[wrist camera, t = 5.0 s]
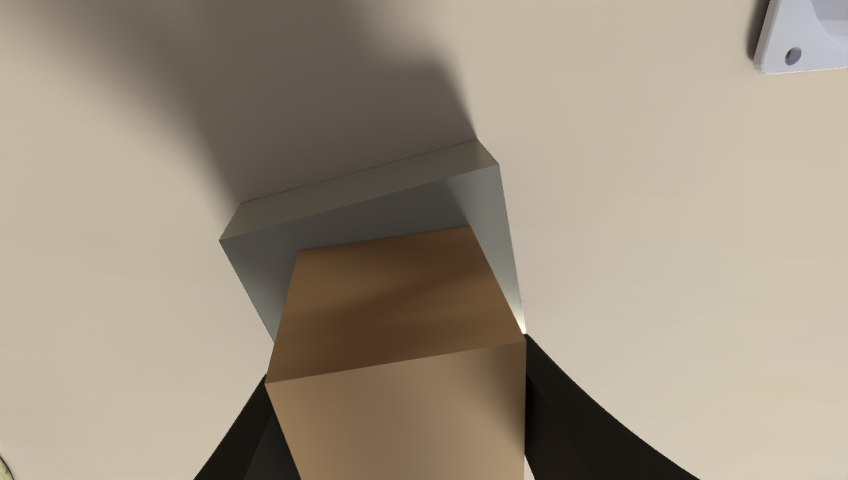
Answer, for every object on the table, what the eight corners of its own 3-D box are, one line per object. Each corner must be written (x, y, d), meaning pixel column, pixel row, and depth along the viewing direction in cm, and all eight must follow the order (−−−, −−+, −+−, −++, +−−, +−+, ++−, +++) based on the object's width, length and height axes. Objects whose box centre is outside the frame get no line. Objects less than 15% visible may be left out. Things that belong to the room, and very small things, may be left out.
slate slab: (474, 135, 15) (498, 163, 12) (507, 316, 19) (531, 368, 16) (244, 198, 15) (218, 240, 12) (325, 366, 19) (319, 425, 16)
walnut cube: (470, 225, 13) (526, 341, 8) (477, 353, 15) (523, 493, 11) (298, 250, 13) (263, 383, 8) (333, 376, 15) (321, 531, 11)
